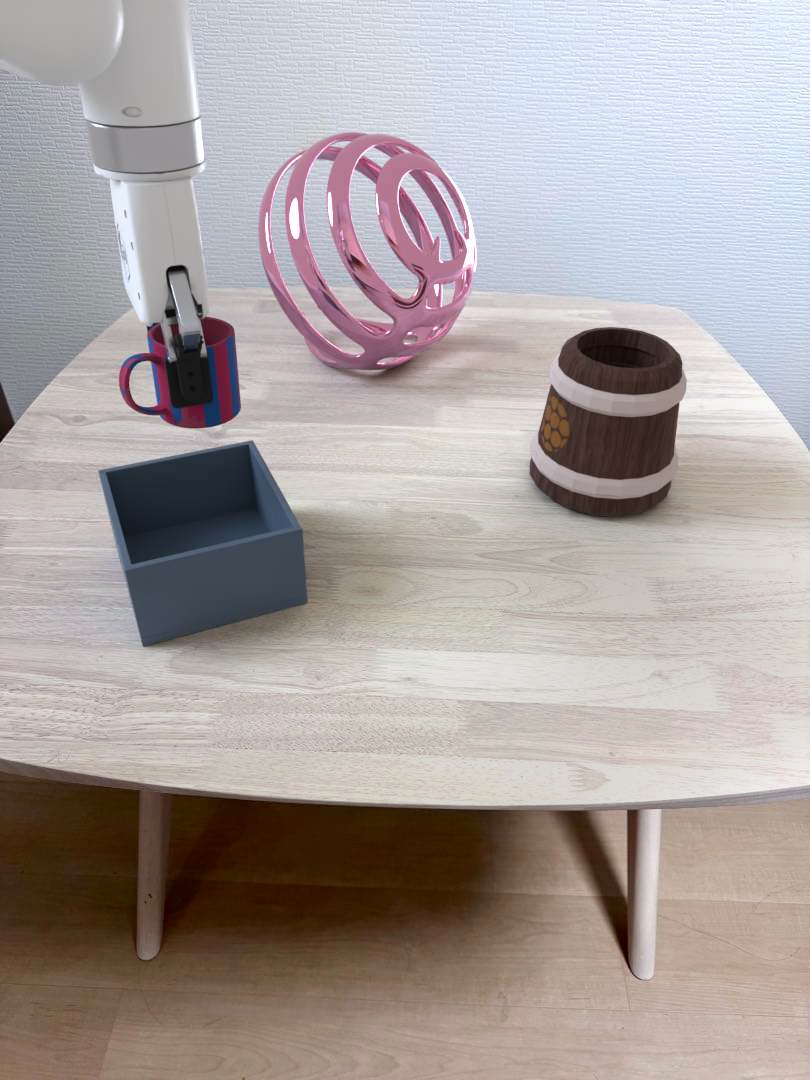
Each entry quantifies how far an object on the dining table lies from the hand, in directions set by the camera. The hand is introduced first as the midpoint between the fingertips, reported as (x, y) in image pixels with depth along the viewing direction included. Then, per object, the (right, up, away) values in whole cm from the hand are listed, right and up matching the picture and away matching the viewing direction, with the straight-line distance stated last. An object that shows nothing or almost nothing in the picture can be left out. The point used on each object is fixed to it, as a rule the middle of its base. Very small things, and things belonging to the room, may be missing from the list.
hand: (182, 381), depth 68 cm
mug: (+38, -5, +23) cm, 45 cm away
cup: (0, -3, +1) cm, 3 cm away
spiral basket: (+14, +11, +44) cm, 47 cm away
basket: (+3, -17, 0) cm, 17 cm away
